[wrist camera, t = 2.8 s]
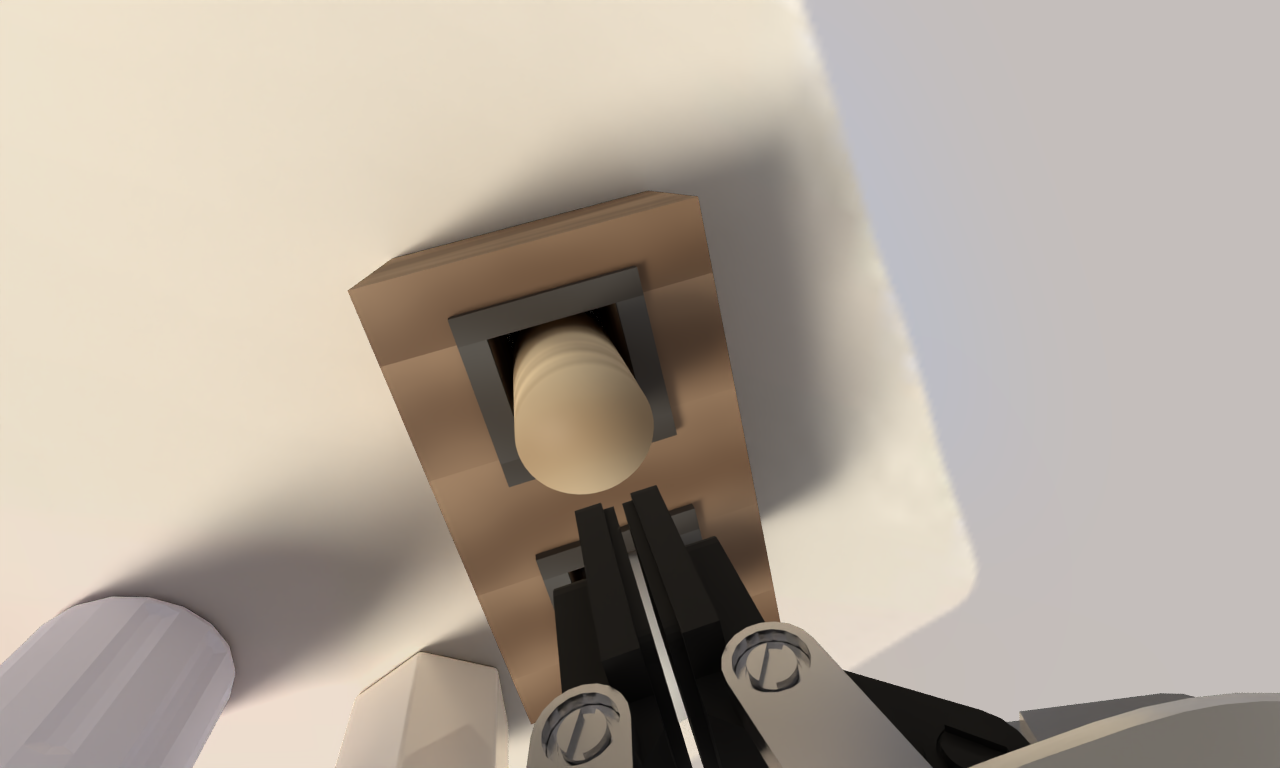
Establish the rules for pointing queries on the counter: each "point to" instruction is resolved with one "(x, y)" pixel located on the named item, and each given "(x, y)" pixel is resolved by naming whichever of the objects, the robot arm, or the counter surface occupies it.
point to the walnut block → (484, 401)
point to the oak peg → (577, 407)
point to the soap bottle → (114, 688)
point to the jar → (429, 718)
